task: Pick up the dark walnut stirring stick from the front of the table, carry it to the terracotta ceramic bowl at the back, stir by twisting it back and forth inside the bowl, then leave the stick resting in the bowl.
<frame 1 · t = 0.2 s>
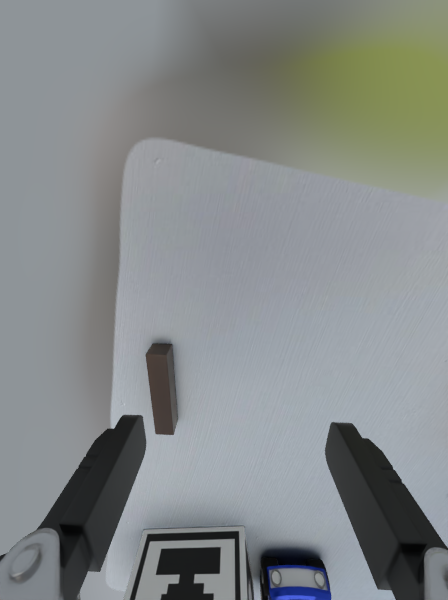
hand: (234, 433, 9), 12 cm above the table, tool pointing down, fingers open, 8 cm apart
block: (201, 555, 34), on the table
toy car: (289, 566, 34), on the table
stick: (166, 384, 24), on the table
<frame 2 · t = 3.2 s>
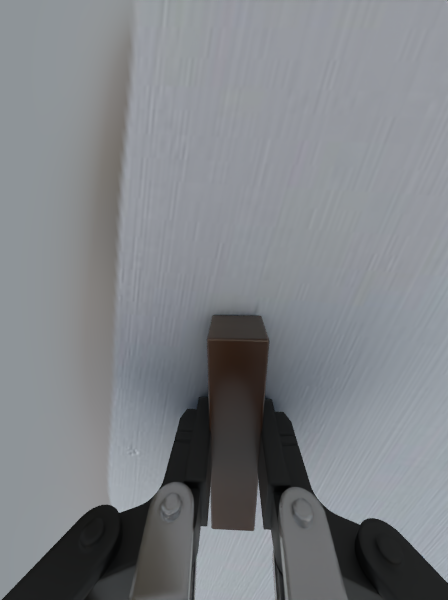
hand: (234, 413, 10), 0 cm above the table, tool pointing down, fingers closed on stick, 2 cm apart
stick: (234, 411, 10), on the table, touching gripper
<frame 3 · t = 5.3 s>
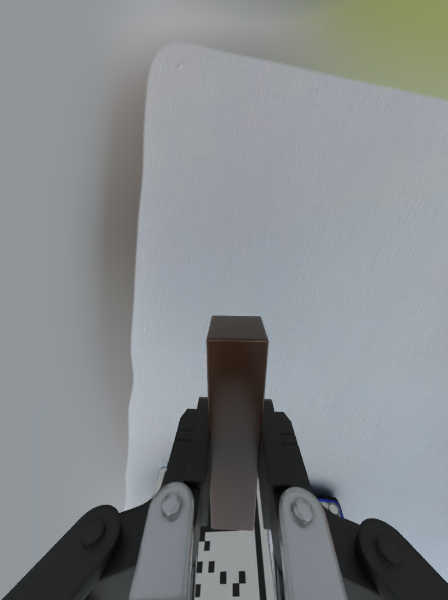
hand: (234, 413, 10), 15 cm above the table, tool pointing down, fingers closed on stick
block: (216, 496, 35), on the table
stick: (234, 411, 10), point 15 cm above the table, touching gripper
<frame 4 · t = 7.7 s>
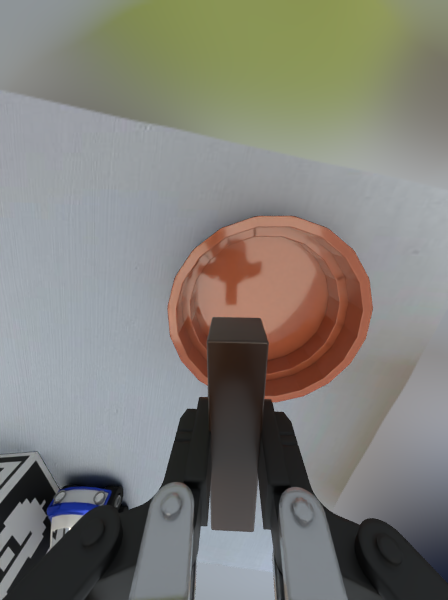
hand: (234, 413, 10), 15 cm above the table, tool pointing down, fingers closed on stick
block: (15, 485, 36), on the table
toy car: (100, 496, 36), on the table
bowl: (259, 302, 24), on the table
stick: (234, 412, 10), point 15 cm above the table, touching gripper
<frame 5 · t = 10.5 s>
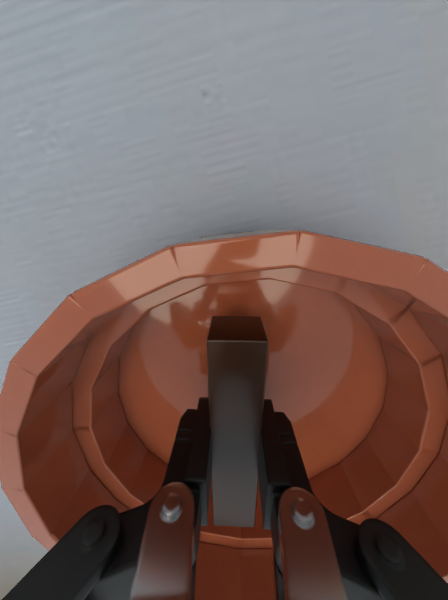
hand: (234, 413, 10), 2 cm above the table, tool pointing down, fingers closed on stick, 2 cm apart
bowl: (248, 391, 13), on the table
stick: (234, 410, 10), point 2 cm above the table, touching gripper
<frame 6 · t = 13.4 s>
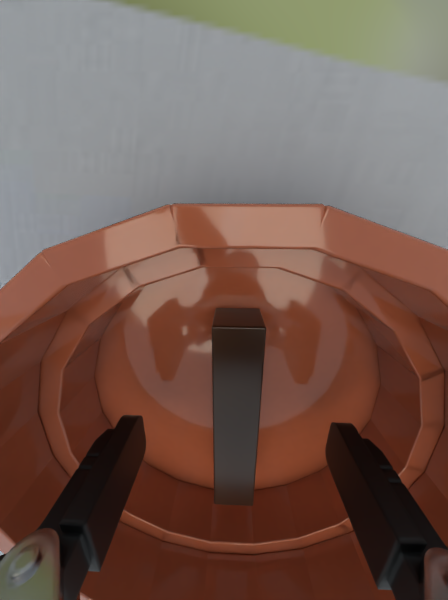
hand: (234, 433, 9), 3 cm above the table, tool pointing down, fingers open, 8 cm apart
bowl: (234, 389, 12), on the table
stick: (235, 397, 11), point 1 cm above the table, touching bowl
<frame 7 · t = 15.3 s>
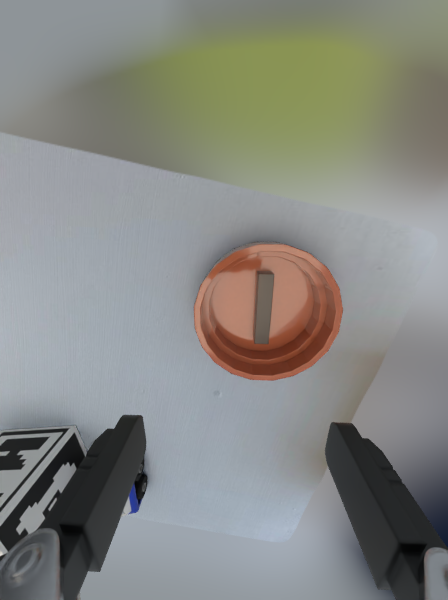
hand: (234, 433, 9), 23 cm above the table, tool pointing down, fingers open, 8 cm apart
block: (53, 455, 43), on the table
toy car: (123, 466, 43), on the table
bowl: (261, 304, 31), on the table
stick: (262, 305, 31), point 1 cm above the table, touching bowl
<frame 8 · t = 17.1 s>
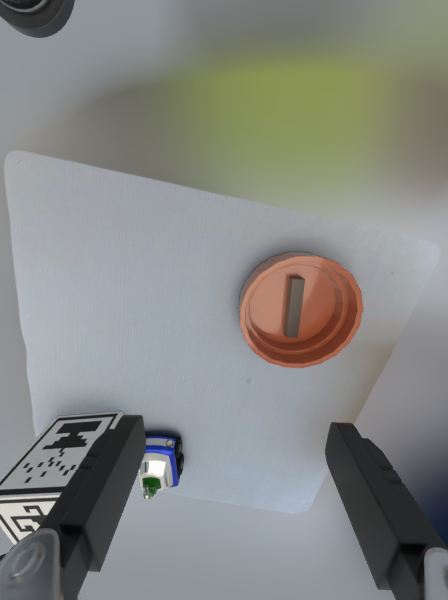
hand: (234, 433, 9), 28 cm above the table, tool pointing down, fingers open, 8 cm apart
block: (100, 438, 49), on the table
toy car: (162, 447, 49), on the table
bowl: (290, 304, 37), on the table
stick: (291, 305, 36), point 1 cm above the table, touching bowl
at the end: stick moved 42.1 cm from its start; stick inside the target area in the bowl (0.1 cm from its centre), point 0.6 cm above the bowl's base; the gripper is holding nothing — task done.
